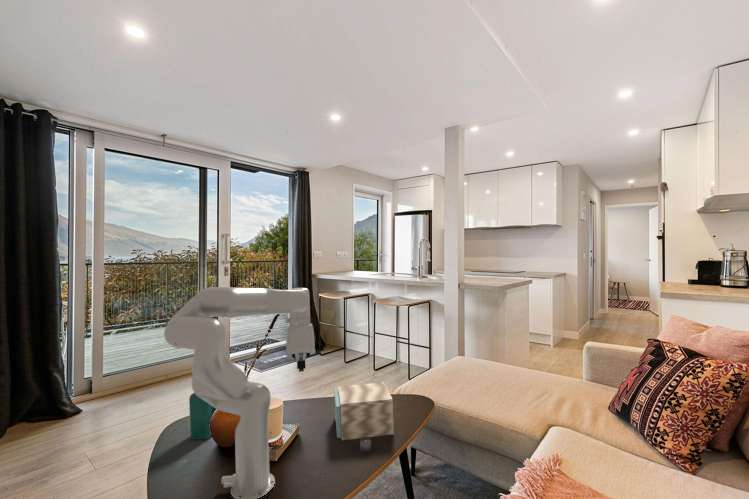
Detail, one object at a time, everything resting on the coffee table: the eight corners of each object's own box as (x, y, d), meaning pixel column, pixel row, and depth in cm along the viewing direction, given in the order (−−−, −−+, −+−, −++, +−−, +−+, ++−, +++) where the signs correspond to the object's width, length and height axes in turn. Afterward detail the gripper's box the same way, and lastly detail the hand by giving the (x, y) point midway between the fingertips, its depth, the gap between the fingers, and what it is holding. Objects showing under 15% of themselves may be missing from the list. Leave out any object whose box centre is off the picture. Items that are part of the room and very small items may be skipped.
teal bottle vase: (207, 441, 133) (205, 383, 133) (187, 439, 134) (186, 382, 135) (223, 428, 142) (221, 374, 143) (204, 426, 144) (203, 373, 144)
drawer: (337, 438, 130) (336, 406, 130) (335, 416, 148) (334, 388, 148) (389, 432, 133) (388, 401, 133) (381, 411, 151) (380, 384, 151)
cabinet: (341, 440, 130) (340, 404, 130) (338, 418, 148) (337, 386, 148) (393, 434, 133) (392, 399, 133) (384, 413, 151) (383, 382, 151)
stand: (360, 453, 121) (360, 443, 121) (359, 447, 125) (359, 437, 125) (371, 452, 122) (371, 442, 122) (370, 446, 126) (370, 436, 126)
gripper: (278, 324, 124) (279, 375, 124) (320, 322, 127) (321, 372, 127) (280, 320, 132) (281, 369, 132) (320, 318, 134) (321, 365, 134)
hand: (301, 370), depth 129 cm, fingers closed
